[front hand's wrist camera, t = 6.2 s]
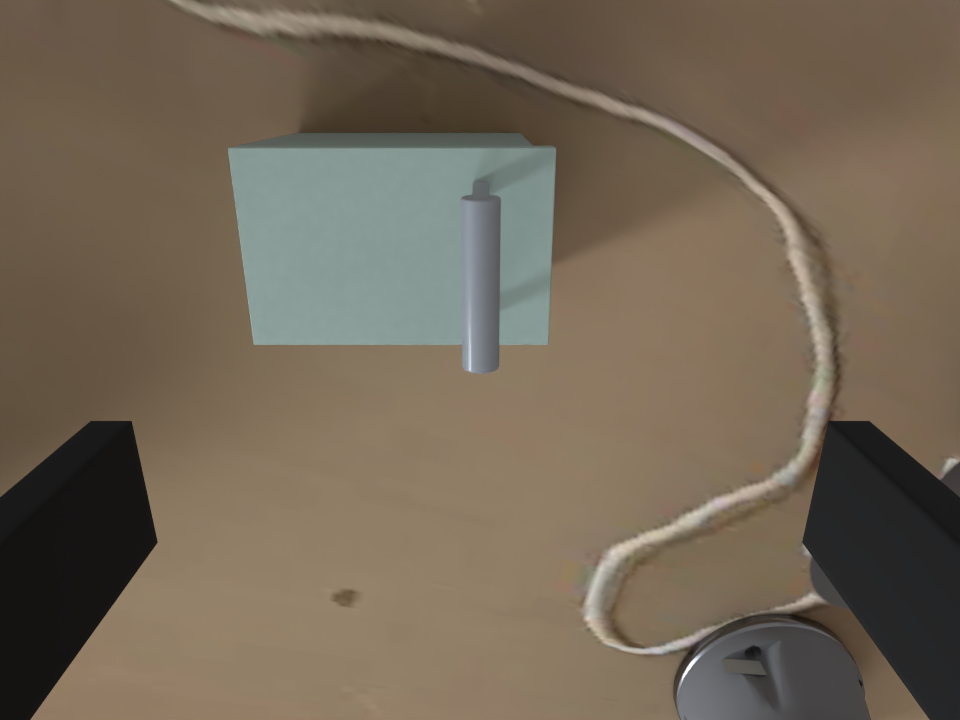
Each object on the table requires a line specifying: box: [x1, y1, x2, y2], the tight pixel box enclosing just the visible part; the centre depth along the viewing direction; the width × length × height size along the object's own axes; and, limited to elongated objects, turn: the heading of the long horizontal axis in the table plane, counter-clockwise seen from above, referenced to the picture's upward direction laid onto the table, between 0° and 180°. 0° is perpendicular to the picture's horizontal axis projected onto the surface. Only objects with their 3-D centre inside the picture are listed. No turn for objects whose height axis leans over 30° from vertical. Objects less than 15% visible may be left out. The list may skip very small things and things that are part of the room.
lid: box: [228, 146, 556, 373], centre depth 29 cm, size 15×9×8 cm, turn 90°
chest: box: [239, 133, 533, 146], centre depth 38 cm, size 14×9×11 cm
